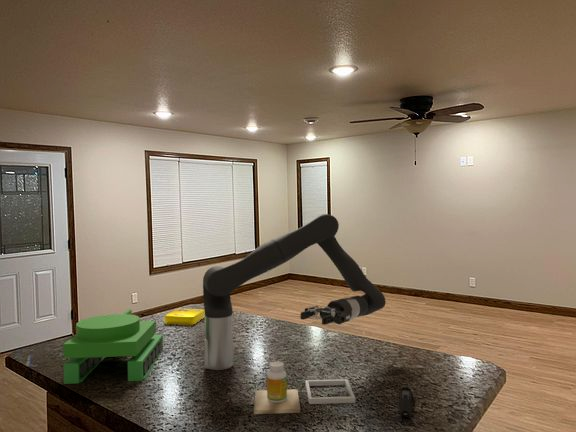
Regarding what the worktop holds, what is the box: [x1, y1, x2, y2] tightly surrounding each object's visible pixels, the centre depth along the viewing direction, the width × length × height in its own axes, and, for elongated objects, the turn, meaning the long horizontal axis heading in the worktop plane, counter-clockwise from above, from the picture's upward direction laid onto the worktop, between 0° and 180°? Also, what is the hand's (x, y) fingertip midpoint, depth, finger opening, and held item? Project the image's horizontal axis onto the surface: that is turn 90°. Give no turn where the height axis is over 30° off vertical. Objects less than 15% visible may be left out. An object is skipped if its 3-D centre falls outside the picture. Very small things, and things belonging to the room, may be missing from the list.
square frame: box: [304, 378, 356, 405], centre depth 124 cm, size 13×13×1 cm
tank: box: [62, 308, 164, 385], centre depth 151 cm, size 24×35×16 cm
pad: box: [253, 388, 301, 415], centre depth 118 cm, size 12×12×1 cm
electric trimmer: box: [398, 386, 414, 418], centre depth 115 cm, size 4×16×3 cm, turn 164°
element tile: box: [164, 307, 205, 326], centre depth 206 cm, size 15×15×5 cm
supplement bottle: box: [266, 360, 288, 403], centre depth 118 cm, size 5×5×10 cm
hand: (311, 318), depth 132 cm, fingers open, 8 cm apart
